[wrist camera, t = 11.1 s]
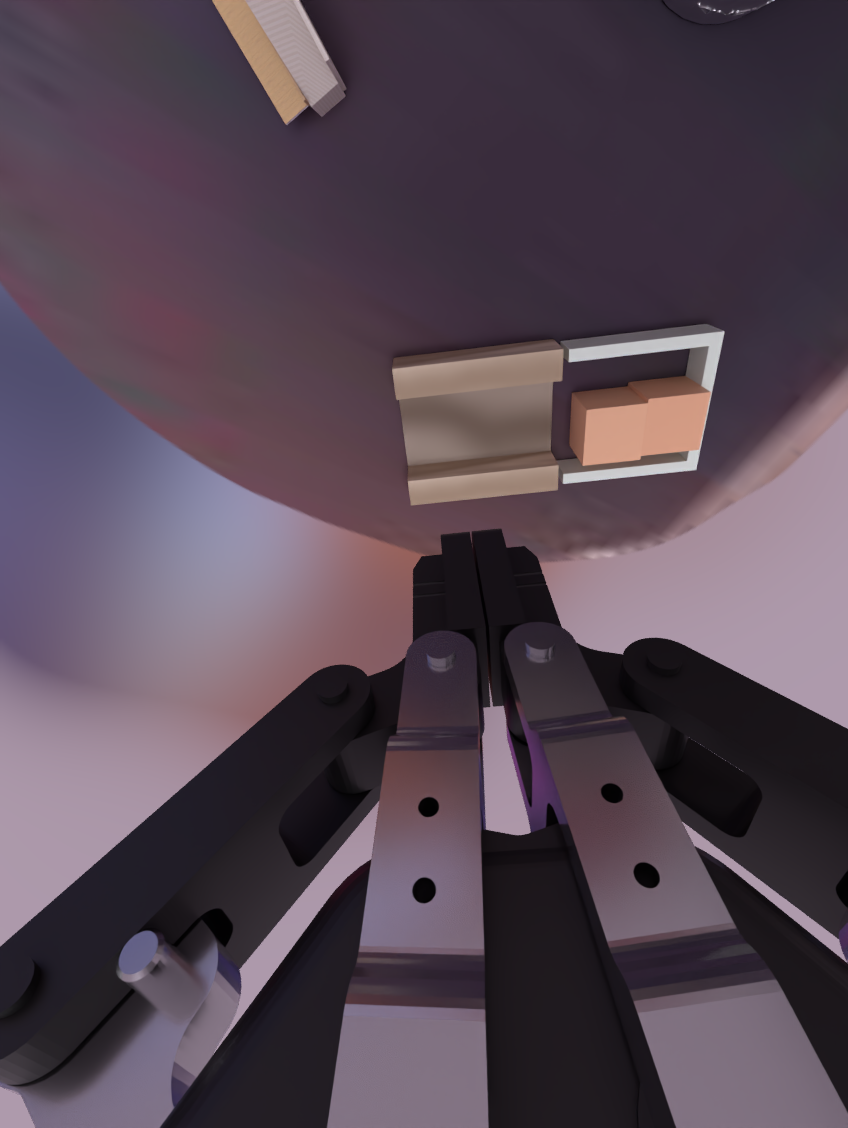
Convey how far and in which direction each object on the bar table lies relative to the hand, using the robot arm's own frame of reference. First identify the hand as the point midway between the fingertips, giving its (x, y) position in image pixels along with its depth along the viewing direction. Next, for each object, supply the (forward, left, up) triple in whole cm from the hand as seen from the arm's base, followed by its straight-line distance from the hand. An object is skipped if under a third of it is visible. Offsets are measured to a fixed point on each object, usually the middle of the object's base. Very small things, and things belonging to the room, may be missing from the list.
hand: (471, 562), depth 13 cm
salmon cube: (+7, +16, -27) cm, 32 cm away
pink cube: (+7, +12, -27) cm, 30 cm away
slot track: (+6, +2, -27) cm, 28 cm away
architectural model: (-15, -6, -28) cm, 32 cm away
